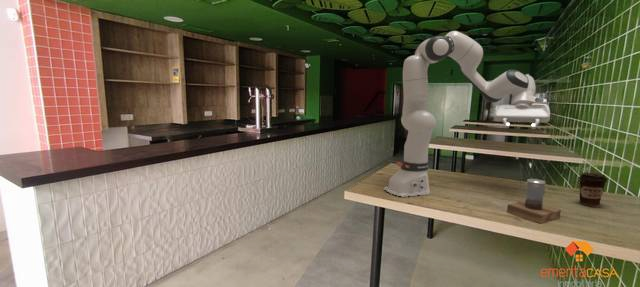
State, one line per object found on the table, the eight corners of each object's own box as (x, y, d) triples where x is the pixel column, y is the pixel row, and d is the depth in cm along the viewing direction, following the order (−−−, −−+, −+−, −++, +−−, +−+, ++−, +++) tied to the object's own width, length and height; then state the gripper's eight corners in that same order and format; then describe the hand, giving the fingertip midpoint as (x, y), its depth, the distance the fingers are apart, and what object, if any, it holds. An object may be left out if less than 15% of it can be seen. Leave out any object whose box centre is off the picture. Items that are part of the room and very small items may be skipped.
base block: (540, 223, 103) (541, 215, 102) (506, 212, 114) (507, 204, 113) (559, 217, 108) (560, 210, 107) (525, 206, 119) (526, 199, 118)
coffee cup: (606, 210, 115) (611, 178, 113) (578, 206, 119) (582, 175, 117) (600, 203, 122) (604, 173, 120) (574, 199, 126) (578, 170, 124)
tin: (536, 210, 107) (539, 183, 105) (521, 205, 112) (524, 179, 110) (545, 208, 109) (548, 181, 107) (530, 203, 114) (532, 178, 112)
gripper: (495, 99, 136) (492, 122, 129) (551, 99, 124) (550, 123, 118) (495, 108, 140) (492, 131, 134) (549, 109, 128) (548, 133, 122)
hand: (519, 127), depth 126 cm, fingers open, 8 cm apart
